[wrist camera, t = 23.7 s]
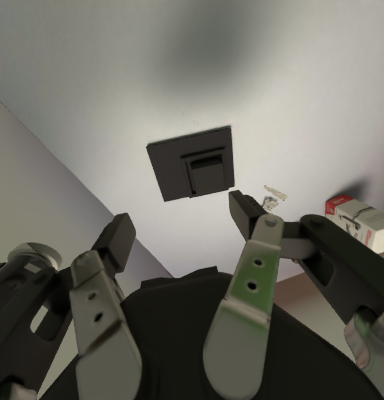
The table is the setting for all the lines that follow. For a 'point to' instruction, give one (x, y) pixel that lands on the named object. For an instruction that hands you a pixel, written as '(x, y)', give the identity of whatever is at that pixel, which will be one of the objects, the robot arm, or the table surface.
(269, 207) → the beige piece
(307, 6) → the table surface
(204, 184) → the black square block
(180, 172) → the base pad
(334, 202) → the ink box
